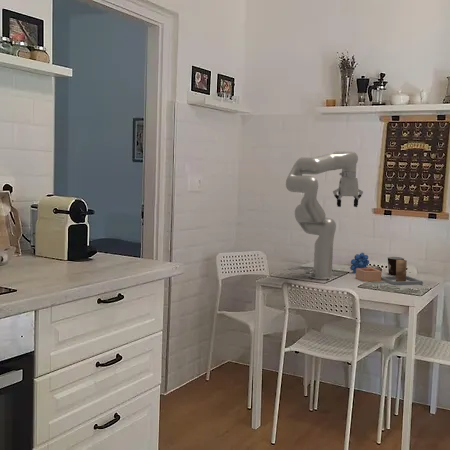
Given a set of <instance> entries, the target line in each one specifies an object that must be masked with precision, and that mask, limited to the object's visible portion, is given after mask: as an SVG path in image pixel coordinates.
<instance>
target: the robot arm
mask: <svg viewBox="0 0 450 450" xmlns="http://www.w3.org/2000/svg"><path fill="white" fill-rule="evenodd" d="M358 161H359V156H358V154H357V152H355V151H349V150H348V151H345V150H344V151H341V150H340V151H335V152H333V153H330V154H329V153H327V154H326V153H325V154H322V155H318V156H315V157H299V158H298V159H297V160H296V161H295V163H294V165H293V166H292V168H291V169H290V171H289V173H288V176H287V178H286V181H285V188H286V189H287V190H288V191H289V192H290V193H300V194H302V193H303V194H304V195H303V197H302V198H301V201H300V204H298V205H297V206H296V207H295V208H294V218H295V220H296V222H297V224H299V226H300V228H301V229H302V230H303V231H304V233H306V234H309V235H314V236H315V235H316V236H318V237H317V239H316V240H315V242H314V251H313V253H314V254H313V256H314V257H313V268H311V269H310V270H308V269H305V270H304V274H305V275H310V278H311V279H314V280H319V281H320V280H322V281H328V280H330V279H333V278H335V277H336V276H335V275H333V259H334V258H333V257H334V256H333V255H334V254H333V253H334V239H335V233H336V229H337V223H336V221H335V220H334V219H333V218H330V217H326V213H325V210H324V208H323V207H322V205H321V204H320V202H319V201H318V198H317V196H318V190H319V182H318V180H317V178H316V177H314V176H312V175H319V174H323V173H326V172H330V171H336V170H341V172H339V176H341V177H340V178H339V183H338V188H336V189H334V190H332V194H333V196H334V198H335V199H336V207H339V208H341V206H342V198H343V197H352V198H354V199H353V207H355V208H357V207H358V205H359V199H361V197H362V195H363V194H364V191H363V190H361V189H360V188H359V181H358V177H357V163H358Z"/></svg>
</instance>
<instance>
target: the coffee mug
mask: <svg viewBox="0 0 450 450" xmlns="http://www.w3.org/2000/svg"><path fill="white" fill-rule="evenodd" d="M396 260H405V258H404V257H400V256H388V257H387V266H388V267H387V268H388V276H389V275H390V276H396Z"/></svg>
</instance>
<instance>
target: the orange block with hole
mask: <svg viewBox="0 0 450 450" xmlns="http://www.w3.org/2000/svg"><path fill="white" fill-rule="evenodd" d="M381 277H382V270H379V269H376V268H373V267H367V268H356V273H355V279H356V280H360V281H362V282H365V283H367V282H368V283H369V282H382V280H381Z"/></svg>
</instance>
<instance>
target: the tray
mask: <svg viewBox="0 0 450 450" xmlns="http://www.w3.org/2000/svg"><path fill="white" fill-rule="evenodd" d="M394 280H395V281H394ZM381 282H385V283H387V284H389V285H392V286H414V285H415V286H417V285H420V286H423V285H424V284H423V283H424V281H423V280H420V279H417V278H416V277H412V276H409V275H406V281H399V282H396V276H393V275H390V276H389V275H388V276H387V275H386V276H381Z"/></svg>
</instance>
